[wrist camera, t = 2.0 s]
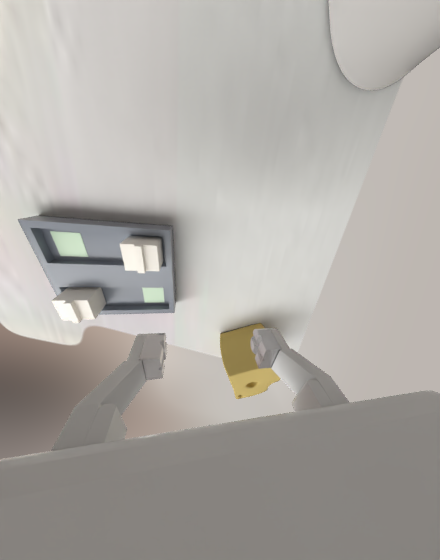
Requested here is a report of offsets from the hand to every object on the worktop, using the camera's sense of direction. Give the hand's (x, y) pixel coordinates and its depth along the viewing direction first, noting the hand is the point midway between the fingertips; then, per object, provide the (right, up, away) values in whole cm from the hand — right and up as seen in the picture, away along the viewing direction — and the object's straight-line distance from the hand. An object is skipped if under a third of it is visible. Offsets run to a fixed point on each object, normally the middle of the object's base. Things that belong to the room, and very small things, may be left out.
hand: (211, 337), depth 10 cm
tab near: (-10, +8, +12) cm, 17 cm away
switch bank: (-15, +5, +14) cm, 21 cm away
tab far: (-20, +1, +14) cm, 24 cm away
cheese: (+6, -11, +28) cm, 31 cm away
